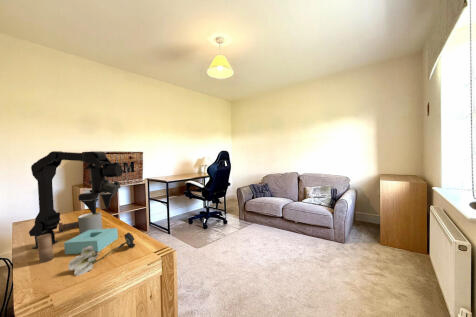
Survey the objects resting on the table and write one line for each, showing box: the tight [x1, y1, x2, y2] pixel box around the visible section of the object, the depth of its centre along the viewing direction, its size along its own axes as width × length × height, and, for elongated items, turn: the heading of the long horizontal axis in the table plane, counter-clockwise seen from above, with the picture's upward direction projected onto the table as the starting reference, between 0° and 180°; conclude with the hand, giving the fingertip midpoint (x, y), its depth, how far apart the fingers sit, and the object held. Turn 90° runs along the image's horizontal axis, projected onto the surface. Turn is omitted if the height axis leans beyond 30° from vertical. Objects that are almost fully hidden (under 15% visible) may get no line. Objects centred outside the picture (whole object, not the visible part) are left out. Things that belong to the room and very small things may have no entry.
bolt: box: [57, 221, 79, 234], centre depth 118 cm, size 6×5×15 cm
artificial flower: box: [67, 232, 136, 277], centre depth 78 cm, size 9×22×10 cm, turn 149°
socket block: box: [63, 227, 119, 255], centre depth 92 cm, size 14×14×5 cm
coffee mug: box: [77, 211, 103, 235], centre depth 109 cm, size 13×10×10 cm
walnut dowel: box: [37, 234, 54, 264], centre depth 81 cm, size 4×4×10 cm
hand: (101, 211), depth 95 cm, fingers open, 9 cm apart
